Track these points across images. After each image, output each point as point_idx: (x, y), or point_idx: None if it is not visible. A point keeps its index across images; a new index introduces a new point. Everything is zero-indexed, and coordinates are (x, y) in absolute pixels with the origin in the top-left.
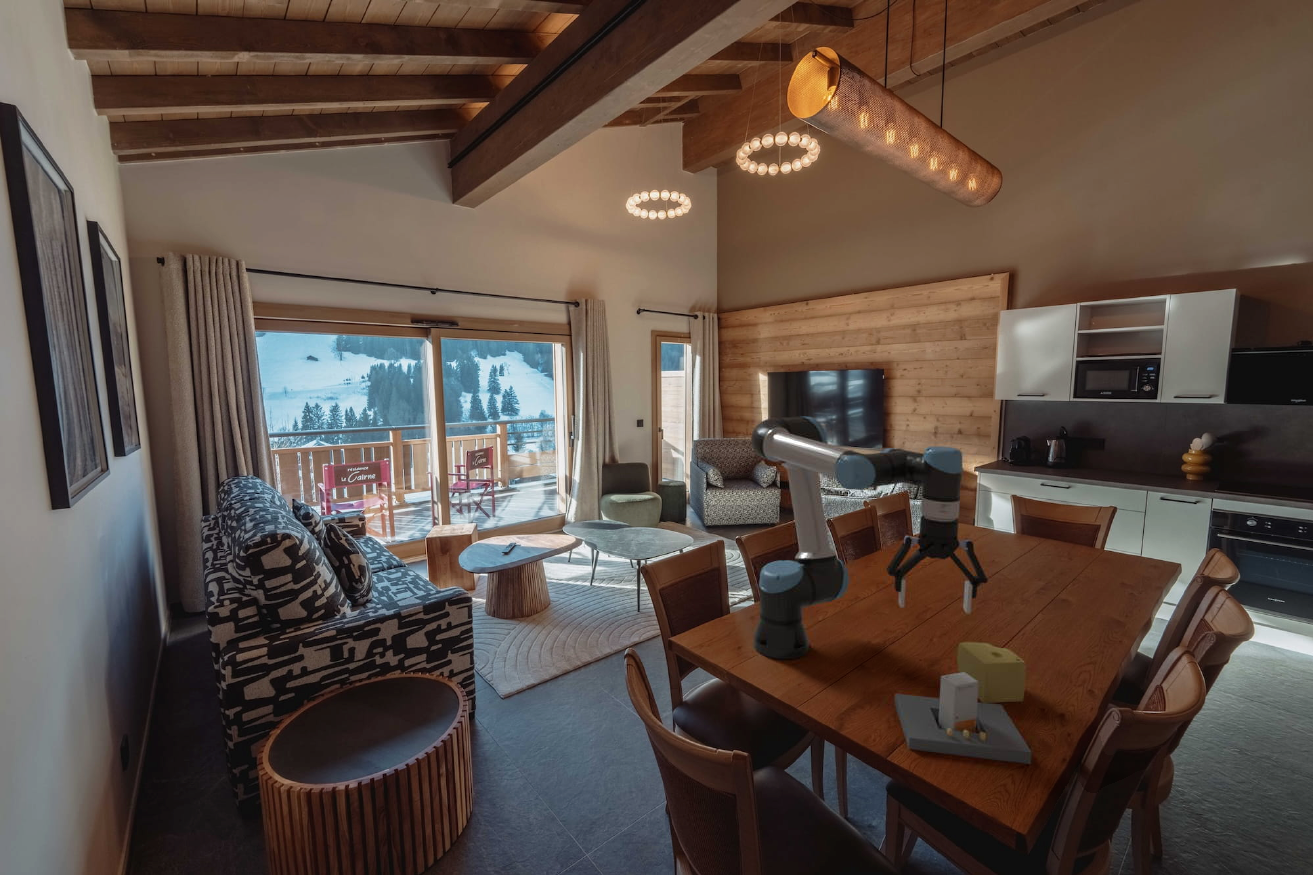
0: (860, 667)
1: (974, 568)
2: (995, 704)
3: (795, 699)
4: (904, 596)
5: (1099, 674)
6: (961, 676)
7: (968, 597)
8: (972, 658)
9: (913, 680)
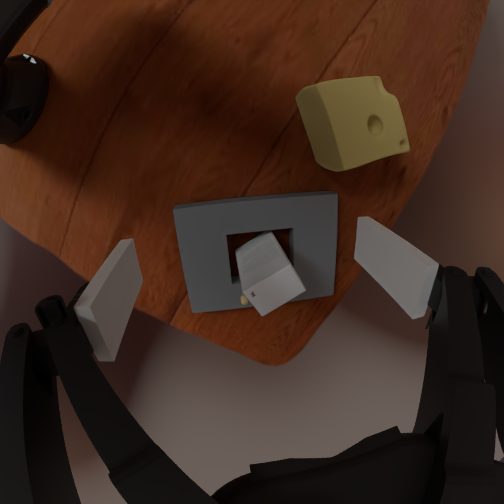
0: (124, 103)
1: (490, 323)
2: (329, 195)
3: (52, 242)
4: (132, 308)
5: (460, 74)
6: (280, 284)
7: (386, 288)
8: (328, 130)
9: (213, 115)
